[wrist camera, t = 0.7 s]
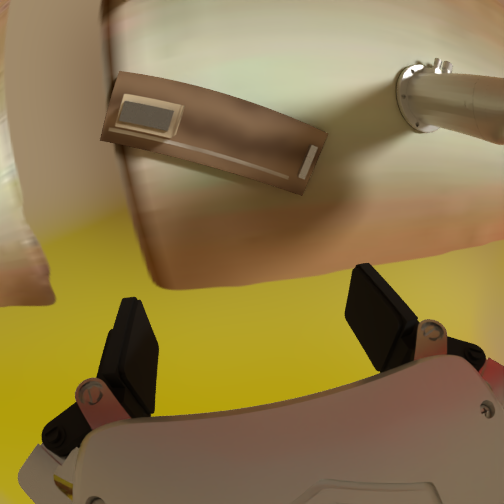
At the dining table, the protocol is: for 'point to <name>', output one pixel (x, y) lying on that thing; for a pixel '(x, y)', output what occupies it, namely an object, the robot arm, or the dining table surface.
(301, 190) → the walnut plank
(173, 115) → the beige rectangular block
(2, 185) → the dining table surface
